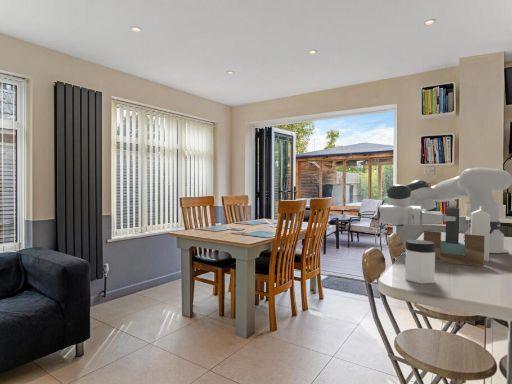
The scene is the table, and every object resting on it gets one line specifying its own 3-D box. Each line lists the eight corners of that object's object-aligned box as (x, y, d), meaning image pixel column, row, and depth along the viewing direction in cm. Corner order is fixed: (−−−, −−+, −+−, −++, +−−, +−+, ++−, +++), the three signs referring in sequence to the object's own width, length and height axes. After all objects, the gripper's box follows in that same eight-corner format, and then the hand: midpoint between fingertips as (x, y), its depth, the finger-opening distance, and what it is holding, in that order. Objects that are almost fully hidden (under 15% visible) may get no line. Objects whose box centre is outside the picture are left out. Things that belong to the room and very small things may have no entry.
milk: (471, 259, 131) (472, 206, 131) (469, 256, 137) (470, 205, 136) (489, 261, 128) (490, 206, 128) (487, 258, 134) (488, 205, 133)
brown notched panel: (423, 258, 131) (424, 230, 131) (482, 265, 121) (483, 235, 121) (423, 259, 129) (423, 231, 129) (483, 266, 119) (484, 235, 119)
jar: (403, 274, 106) (404, 238, 106) (431, 277, 103) (432, 240, 103) (405, 282, 98) (406, 242, 98) (435, 285, 95) (437, 245, 95)
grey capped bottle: (445, 241, 133) (446, 200, 133) (457, 242, 131) (459, 200, 131) (445, 242, 130) (446, 200, 129) (458, 243, 127) (459, 201, 127)
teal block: (440, 256, 136) (440, 240, 136) (462, 259, 132) (462, 242, 132) (440, 260, 129) (440, 242, 129) (463, 262, 125) (464, 245, 125)
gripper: (418, 221, 146) (453, 223, 139) (415, 225, 128) (456, 228, 121) (418, 207, 145) (454, 209, 139) (415, 210, 128) (456, 211, 121)
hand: (455, 218), depth 130 cm, fingers open, 5 cm apart
